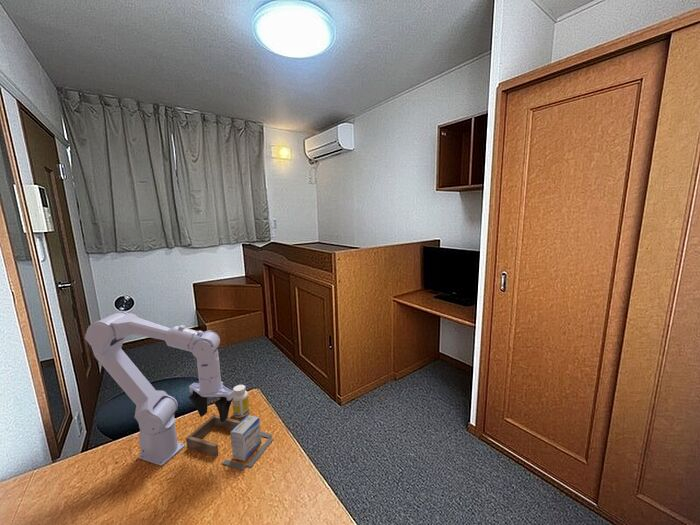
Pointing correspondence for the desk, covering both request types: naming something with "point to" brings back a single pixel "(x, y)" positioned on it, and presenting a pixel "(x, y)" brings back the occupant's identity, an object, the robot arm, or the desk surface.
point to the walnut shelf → (196, 437)
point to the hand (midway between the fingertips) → (213, 417)
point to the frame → (255, 458)
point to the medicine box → (245, 437)
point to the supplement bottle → (240, 401)
